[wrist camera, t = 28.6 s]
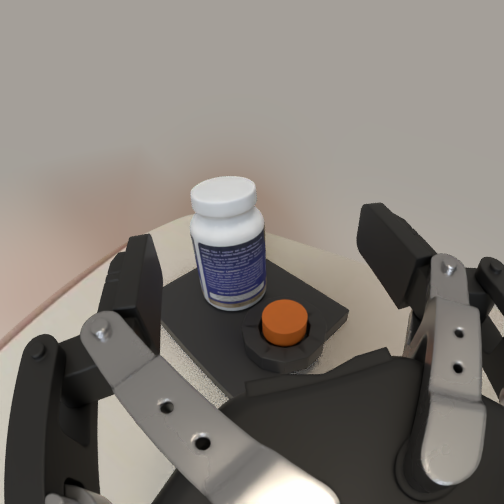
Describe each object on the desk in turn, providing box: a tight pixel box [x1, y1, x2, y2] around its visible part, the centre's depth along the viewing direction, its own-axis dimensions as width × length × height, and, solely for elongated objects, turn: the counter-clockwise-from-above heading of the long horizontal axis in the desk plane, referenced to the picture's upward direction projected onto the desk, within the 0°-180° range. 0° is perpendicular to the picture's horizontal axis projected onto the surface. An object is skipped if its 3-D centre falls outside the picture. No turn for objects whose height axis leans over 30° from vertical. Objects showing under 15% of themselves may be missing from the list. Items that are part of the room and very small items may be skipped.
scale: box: [161, 259, 349, 399], centre depth 25 cm, size 12×15×3 cm
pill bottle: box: [190, 176, 267, 311], centre depth 24 cm, size 6×6×10 cm
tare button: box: [262, 299, 308, 347], centre depth 21 cm, size 3×3×2 cm
